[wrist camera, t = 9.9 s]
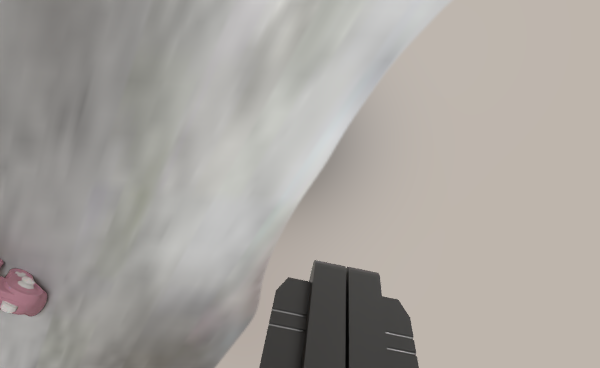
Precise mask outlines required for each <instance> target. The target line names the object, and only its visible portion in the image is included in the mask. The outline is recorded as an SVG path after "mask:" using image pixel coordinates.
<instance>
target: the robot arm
mask: <svg viewBox="0 0 600 368" xmlns="http://www.w3.org/2000/svg"><path fill="white" fill-rule="evenodd" d="M260 368H419V367H418V361H417V357H416V349H415V344H414V340H413V332H412V327H411V321H410V317H409V315H408V314H407V312H406V311H405V310H404V308H403V306H402V305H401V303H400V302H399V300H397V299H392V298H387V297H382V295H381V285H380V276H379V274H378V273H376V272H371V271H365V270H361V269H356V268H351V267H347V268H346V267H345V266H341V265H336V264H331V263H326V262H321V261H316V260H315V261H314V263H313V267H312V271H311V276H310V280H309V282H308V281H303V280H298V279H293V278H288V279H286V281H285V282H284V283H283V284H282V285H281V286H280V287H279V288H278V289H277V290H276V294H275V298H274V303H273V307H272V312H271V317H270V321H269V326H268V331H267V336H266V340H265V344H264V349H263V354H262V358H261V363H260Z"/></svg>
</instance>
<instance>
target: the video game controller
mask: <svg viewBox="0 0 600 368" xmlns="http://www.w3.org/2000/svg"><path fill="white" fill-rule="evenodd" d="M2 265H3V261H2V260H1V259H0V268H1V266H2ZM46 301H47V293H46V292H45V291H44V290H42V288H41V287H40V286H39V285H37V284H36V283H35V281H34V280H33V276H32V275H31V274H30V273H28V272H26V271H24V270H22V269H16V268H14V269H11V270H10V271H9V272H8V274H7V275H6V277H5V278H4V277H1V276H0V310H3V311H4V312H6V313H12V314H18V315H22V314H26V315H28V316H34V315H36V314H38V313H39V312H40V311H41V310H42V309H43V307H44V306H45V304H46Z"/></svg>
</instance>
